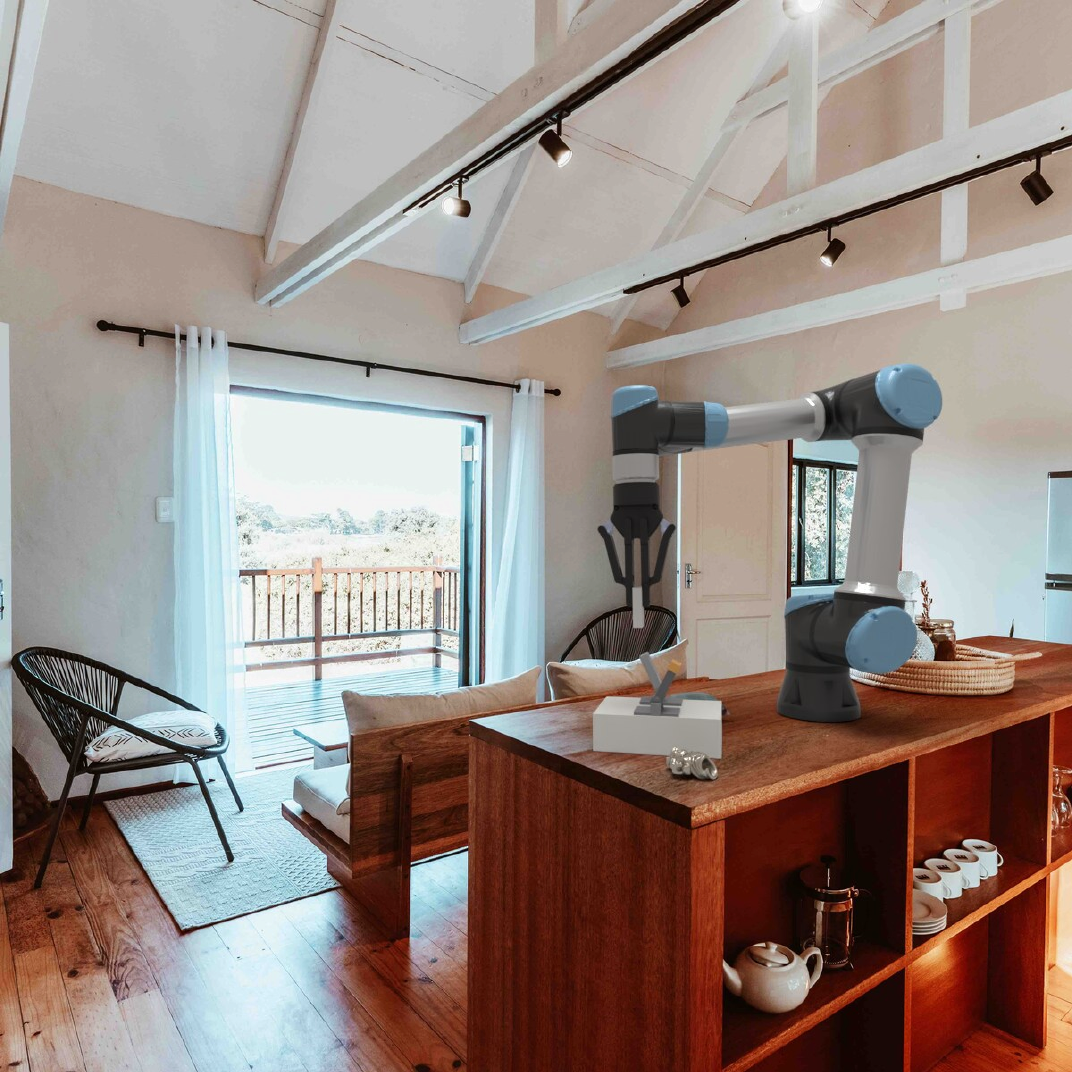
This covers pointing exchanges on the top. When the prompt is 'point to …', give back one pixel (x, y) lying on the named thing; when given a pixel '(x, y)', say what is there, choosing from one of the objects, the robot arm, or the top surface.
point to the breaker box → (657, 723)
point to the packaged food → (699, 698)
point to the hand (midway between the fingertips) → (638, 626)
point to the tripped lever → (666, 682)
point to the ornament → (692, 764)
